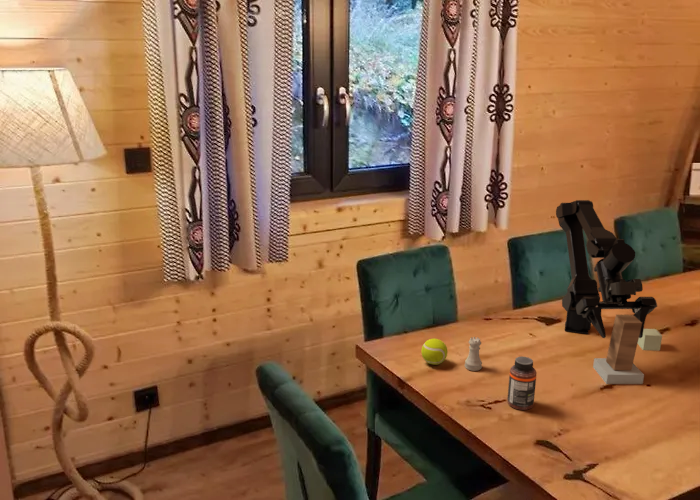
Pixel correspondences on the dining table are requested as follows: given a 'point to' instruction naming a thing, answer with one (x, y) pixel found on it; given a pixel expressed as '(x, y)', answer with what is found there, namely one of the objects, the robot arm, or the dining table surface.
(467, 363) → the rook chess piece
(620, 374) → the slate slab
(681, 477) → the dining table surface
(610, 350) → the walnut pillar
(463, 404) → the dining table surface
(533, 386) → the supplement bottle
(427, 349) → the tennis ball
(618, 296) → the robot arm
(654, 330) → the sage cube
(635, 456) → the dining table surface
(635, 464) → the dining table surface
